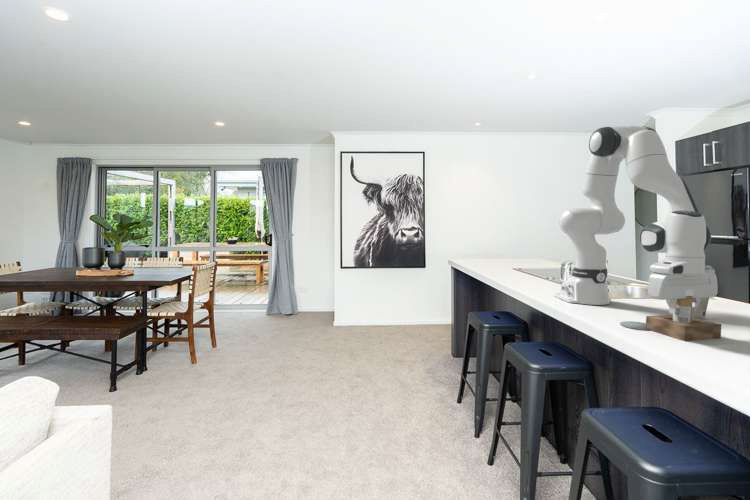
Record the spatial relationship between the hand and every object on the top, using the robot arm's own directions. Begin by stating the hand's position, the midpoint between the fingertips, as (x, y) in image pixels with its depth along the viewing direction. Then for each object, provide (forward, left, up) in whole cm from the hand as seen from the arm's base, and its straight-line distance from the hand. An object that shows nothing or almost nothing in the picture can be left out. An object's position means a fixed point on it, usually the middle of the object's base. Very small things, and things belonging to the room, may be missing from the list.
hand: (682, 313), depth 107 cm
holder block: (0, 0, -6) cm, 6 cm away
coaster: (-9, -6, -6) cm, 12 cm away
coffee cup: (-14, +22, -6) cm, 27 cm away
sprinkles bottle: (0, 0, -6) cm, 6 cm away
